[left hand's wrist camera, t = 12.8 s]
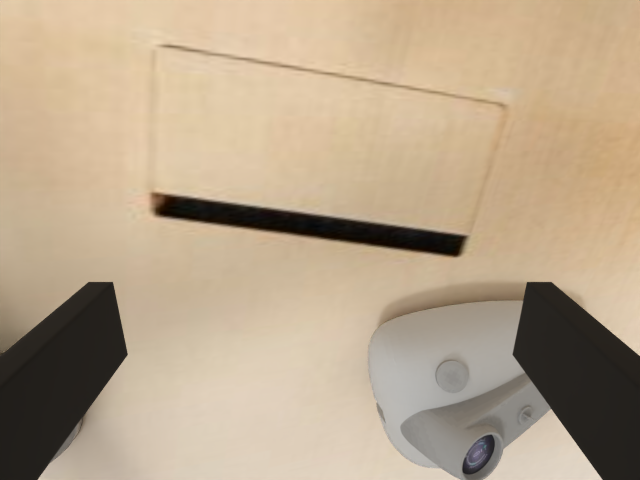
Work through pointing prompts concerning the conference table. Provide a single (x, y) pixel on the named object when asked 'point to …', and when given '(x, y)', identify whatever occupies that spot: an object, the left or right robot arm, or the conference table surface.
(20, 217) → the conference table surface
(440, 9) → the conference table surface
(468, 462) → the projector
